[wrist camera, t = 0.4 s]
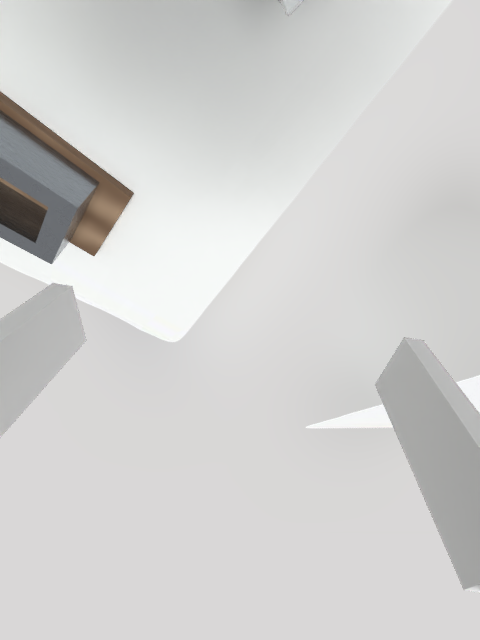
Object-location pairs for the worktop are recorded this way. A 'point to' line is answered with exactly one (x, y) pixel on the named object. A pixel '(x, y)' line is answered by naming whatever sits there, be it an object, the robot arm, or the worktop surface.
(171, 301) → the worktop surface
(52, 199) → the collar
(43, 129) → the base plate
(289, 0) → the supplement box
